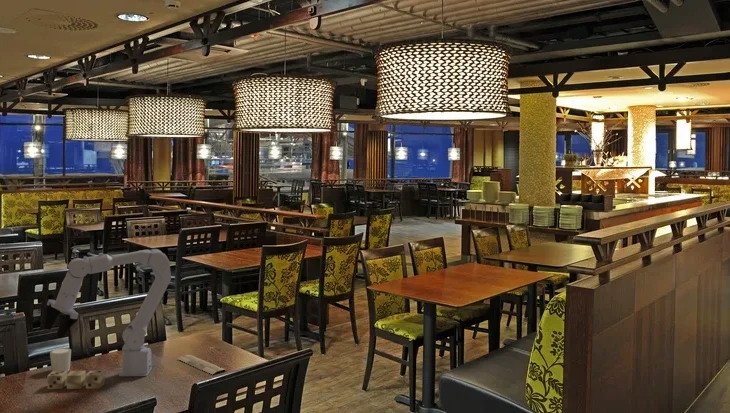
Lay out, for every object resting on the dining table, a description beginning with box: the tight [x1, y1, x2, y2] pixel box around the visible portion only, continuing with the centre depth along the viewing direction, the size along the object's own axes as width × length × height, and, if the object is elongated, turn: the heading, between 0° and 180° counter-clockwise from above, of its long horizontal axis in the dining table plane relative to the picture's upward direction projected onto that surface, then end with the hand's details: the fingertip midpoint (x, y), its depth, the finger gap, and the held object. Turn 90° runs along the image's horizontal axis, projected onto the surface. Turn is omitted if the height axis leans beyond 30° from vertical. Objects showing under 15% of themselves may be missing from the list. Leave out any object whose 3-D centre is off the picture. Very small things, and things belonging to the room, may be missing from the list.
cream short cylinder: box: [49, 347, 72, 372], centre depth 219 cm, size 7×7×7 cm
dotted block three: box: [47, 371, 68, 390], centre depth 204 cm, size 4×5×5 cm
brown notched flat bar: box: [177, 354, 226, 376], centre depth 227 cm, size 24×7×2 cm, turn 47°
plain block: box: [66, 370, 87, 390], centre depth 204 cm, size 4×4×4 cm
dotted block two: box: [85, 369, 106, 389], centre depth 205 cm, size 4×5×5 cm
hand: (53, 332), depth 205 cm, fingers open, 7 cm apart
